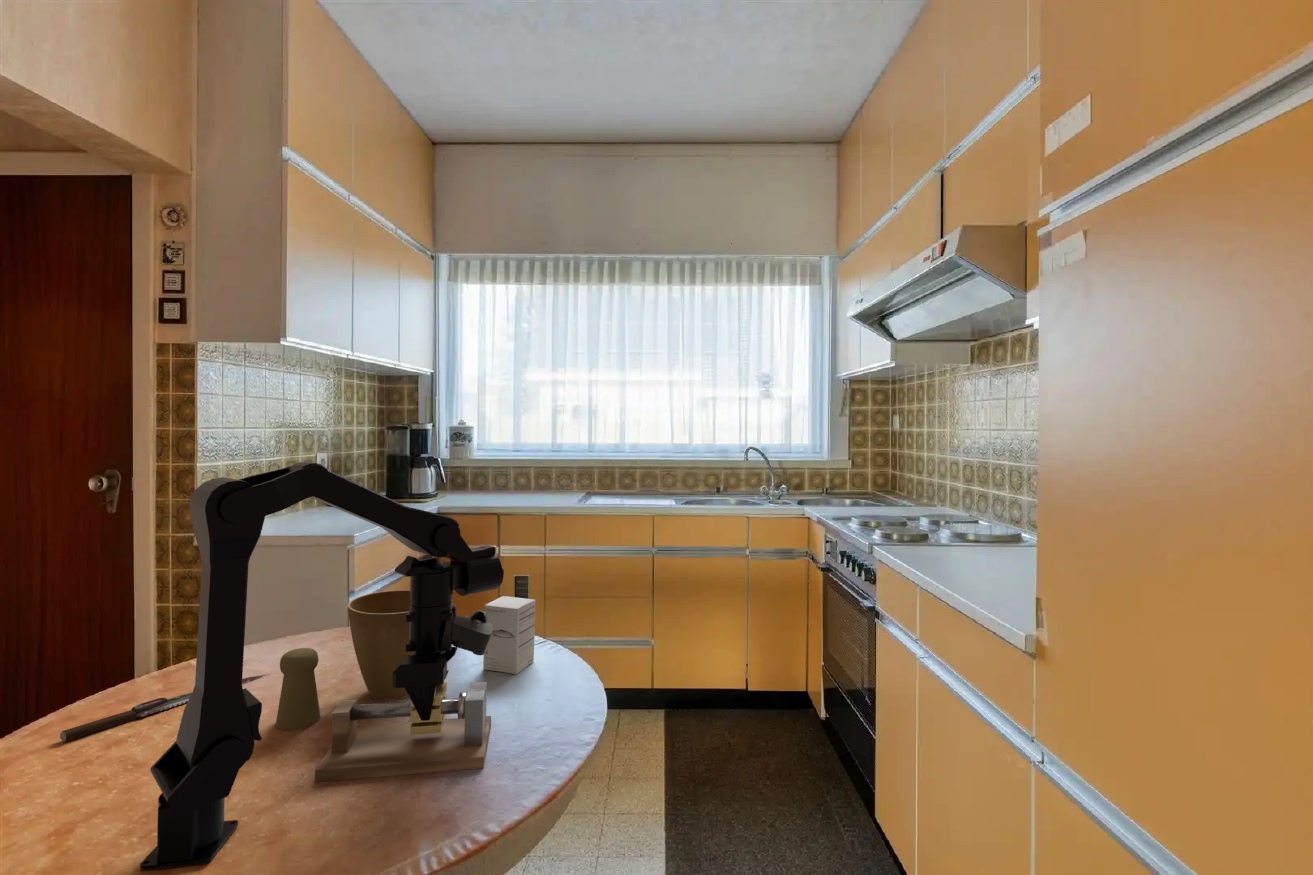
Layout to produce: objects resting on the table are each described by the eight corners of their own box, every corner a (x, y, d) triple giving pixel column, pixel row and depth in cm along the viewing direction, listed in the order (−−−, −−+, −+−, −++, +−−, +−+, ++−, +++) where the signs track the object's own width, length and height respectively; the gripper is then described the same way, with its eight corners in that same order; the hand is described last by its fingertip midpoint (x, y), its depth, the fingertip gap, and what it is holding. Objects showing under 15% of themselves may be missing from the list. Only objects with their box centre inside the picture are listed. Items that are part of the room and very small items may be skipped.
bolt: (482, 745, 84) (482, 699, 84) (337, 756, 81) (337, 708, 81) (486, 725, 90) (486, 681, 90) (351, 734, 87) (351, 689, 87)
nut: (440, 732, 84) (441, 696, 84) (410, 734, 83) (410, 698, 83) (446, 716, 88) (446, 682, 88) (417, 718, 88) (418, 683, 88)
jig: (483, 767, 81) (484, 716, 81) (314, 781, 77) (315, 727, 77) (491, 725, 93) (491, 680, 93) (344, 735, 89) (345, 688, 89)
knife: (280, 669, 112) (67, 735, 85) (278, 678, 112) (65, 747, 85) (271, 663, 113) (58, 726, 86) (269, 672, 113) (56, 738, 87)
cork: (299, 732, 90) (301, 659, 90) (265, 727, 91) (266, 655, 91) (329, 714, 96) (330, 645, 96) (296, 710, 97) (298, 642, 97)
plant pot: (336, 715, 95) (337, 615, 95) (356, 678, 110) (357, 591, 110) (435, 705, 99) (437, 609, 99) (442, 671, 114) (444, 587, 114)
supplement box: (481, 670, 114) (482, 604, 114) (502, 656, 122) (503, 594, 122) (516, 675, 112) (517, 608, 112) (535, 661, 119) (536, 598, 119)
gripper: (483, 619, 78) (481, 739, 78) (494, 584, 96) (492, 681, 96) (392, 623, 76) (390, 746, 76) (421, 586, 94) (419, 685, 94)
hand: (429, 711), depth 86 cm, fingers closed on nut, 5 cm apart
